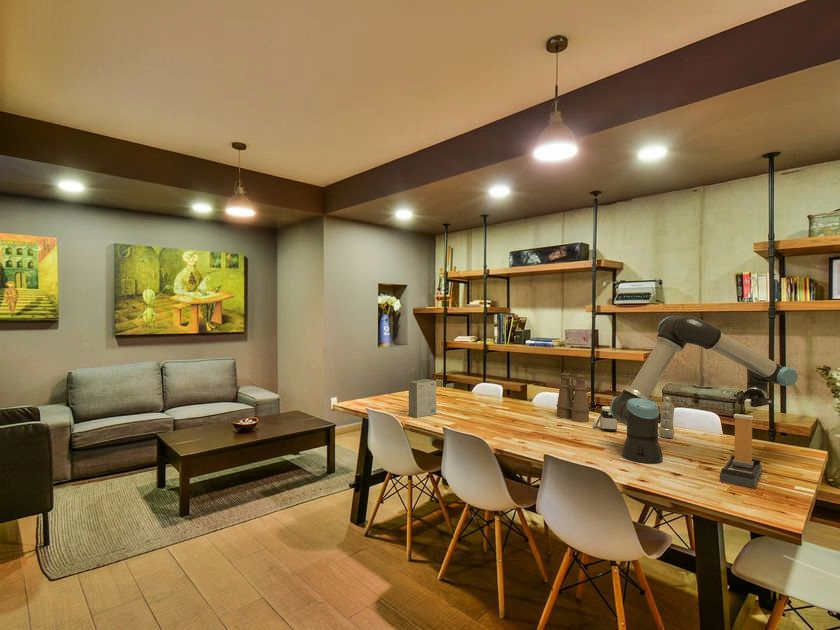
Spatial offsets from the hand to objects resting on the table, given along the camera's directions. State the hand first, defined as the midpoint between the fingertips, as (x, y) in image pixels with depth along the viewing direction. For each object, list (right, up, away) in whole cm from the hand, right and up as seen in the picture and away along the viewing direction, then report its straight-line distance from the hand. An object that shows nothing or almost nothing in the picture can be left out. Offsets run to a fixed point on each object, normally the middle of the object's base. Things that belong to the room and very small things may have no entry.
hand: (746, 404), depth 176 cm
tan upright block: (-6, -21, -6) cm, 23 cm away
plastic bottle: (-7, -25, +45) cm, 52 cm away
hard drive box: (-125, -24, +88) cm, 155 cm away
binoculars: (-39, -25, +84) cm, 96 cm away
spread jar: (-31, -25, +59) cm, 71 cm away
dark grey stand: (-9, -24, -9) cm, 28 cm away
